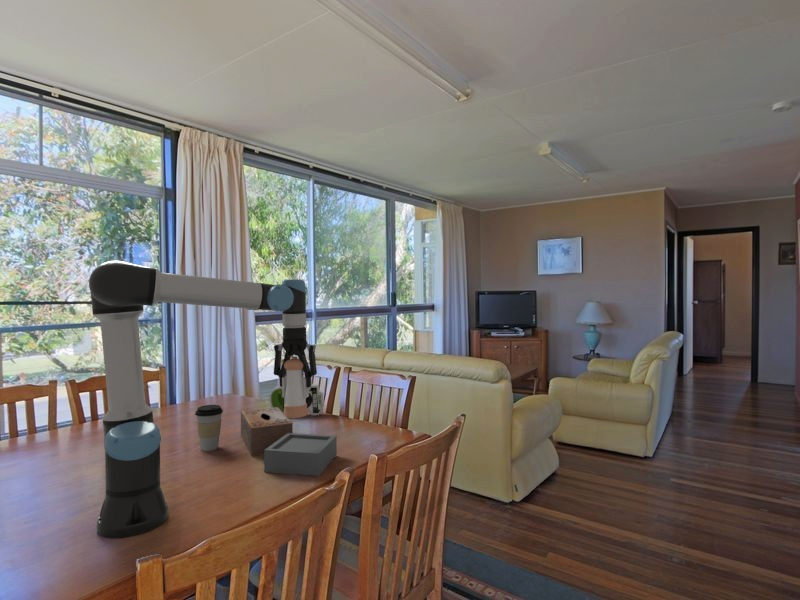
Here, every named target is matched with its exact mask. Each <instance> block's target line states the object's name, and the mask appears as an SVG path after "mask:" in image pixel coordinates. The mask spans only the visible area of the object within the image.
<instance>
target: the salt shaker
mask: <svg viewBox="0 0 800 600" xmlns="http://www.w3.org/2000/svg"><path fill="white" fill-rule="evenodd" d="M284 368H285V369H286V370H287V371H286V376H287V384H286V391H285V403H286V404H285V405H284V416H285V417H287V418H288V419H297V418H303V417H306V416H307V415H308V411H307V403H306V398H304V395H303V378H305V374H304V371H303V363H302V362H301V361H300V359H299V358H298V356H293V357H291V358H290V359H289V360H287V361H286V362H285V363H284Z"/></svg>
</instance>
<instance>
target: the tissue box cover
mask: <svg viewBox="0 0 800 600" xmlns="http://www.w3.org/2000/svg"><path fill="white" fill-rule="evenodd" d="M293 426H294V423H293V422H292V421H291V420H290V418H287V417H285V416H284V413H283V412H282V411H281V410H280V409H279V408H278V407H274V408H271V407H267V408H266V407H265V408H258V409H257V408H256V409H249V410H240V436H241V439H242V440H243V443H244V445H245V446H246V450H247V451H248V453H249V455H250V456H251V457H254V456H253V455H256V456H260V455H259V454H262V455H264V450H265V449H266V448H268V447H269V446H271V445H272V444H273V443H275V442H276V441H277V440H279V439H280V438H282V437H283V436H284V435H286V434H287V433H294V432H293V428H294V427H293Z"/></svg>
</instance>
